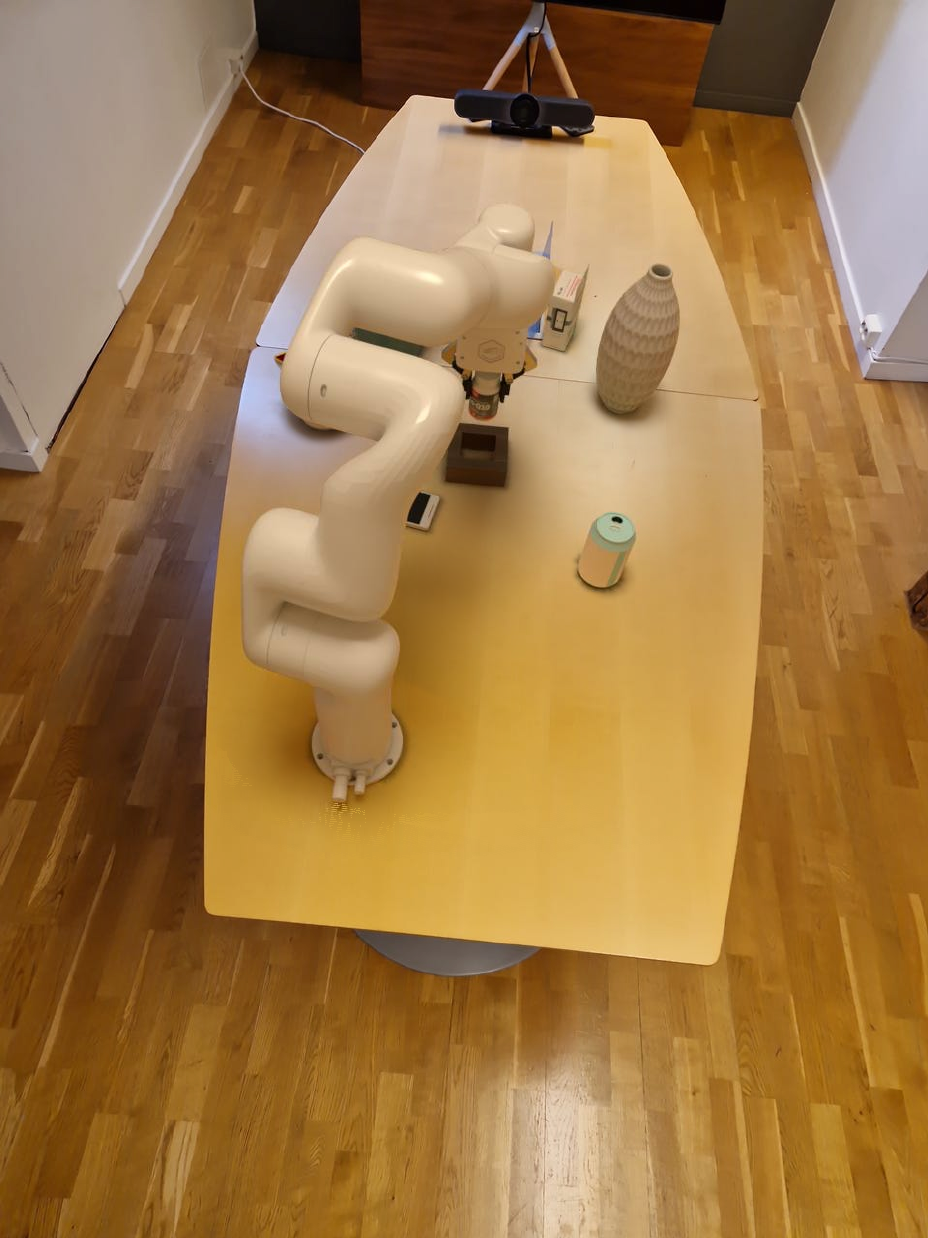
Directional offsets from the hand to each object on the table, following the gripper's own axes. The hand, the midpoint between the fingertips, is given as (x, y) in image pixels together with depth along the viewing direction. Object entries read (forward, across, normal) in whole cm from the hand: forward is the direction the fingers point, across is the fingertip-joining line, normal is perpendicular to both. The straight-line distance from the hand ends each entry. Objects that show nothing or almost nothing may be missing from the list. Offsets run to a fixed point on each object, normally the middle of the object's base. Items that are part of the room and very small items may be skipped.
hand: (484, 394), depth 129 cm
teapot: (+16, -26, +8) cm, 32 cm away
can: (+16, +21, -21) cm, 34 cm away
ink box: (+16, +15, +35) cm, 41 cm away
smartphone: (+16, -14, -11) cm, 24 cm away
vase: (+16, +26, +18) cm, 35 cm away
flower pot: (+16, -18, +27) cm, 36 cm away
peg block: (+16, 0, 0) cm, 16 cm away
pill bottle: (+4, 0, 0) cm, 4 cm away
